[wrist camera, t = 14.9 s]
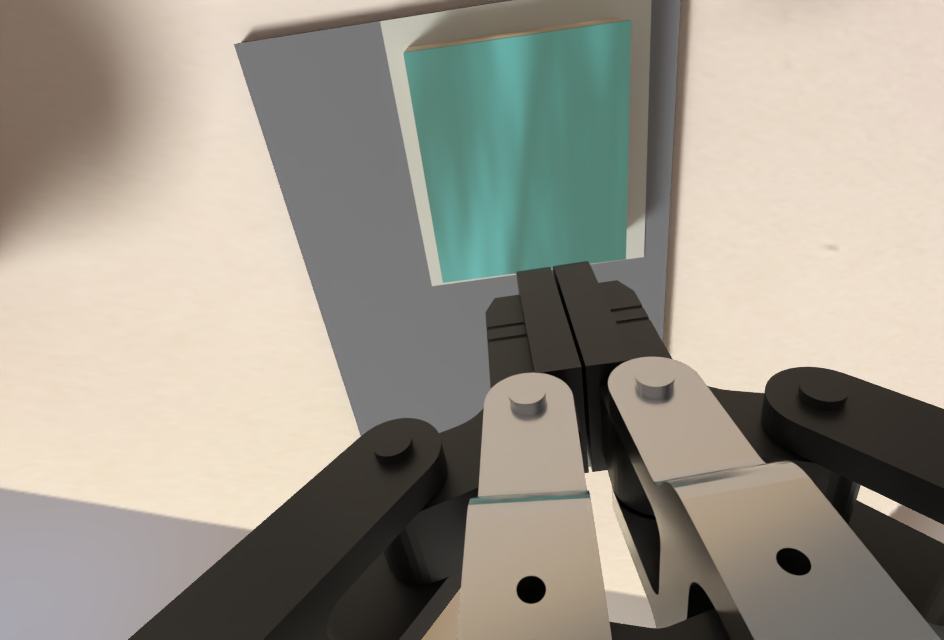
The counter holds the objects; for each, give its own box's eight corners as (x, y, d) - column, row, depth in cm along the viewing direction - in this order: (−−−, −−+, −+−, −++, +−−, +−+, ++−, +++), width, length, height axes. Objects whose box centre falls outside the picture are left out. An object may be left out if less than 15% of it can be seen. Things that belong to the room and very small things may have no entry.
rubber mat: (675, -26, 18) (683, -27, 18) (653, 450, 30) (656, 459, 29) (239, 42, 19) (233, 44, 18) (380, 484, 30) (379, 493, 30)
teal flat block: (407, 47, 19) (613, 17, 18) (443, 260, 23) (612, 238, 22) (403, 53, 17) (630, 20, 17) (442, 282, 21) (625, 259, 21)
